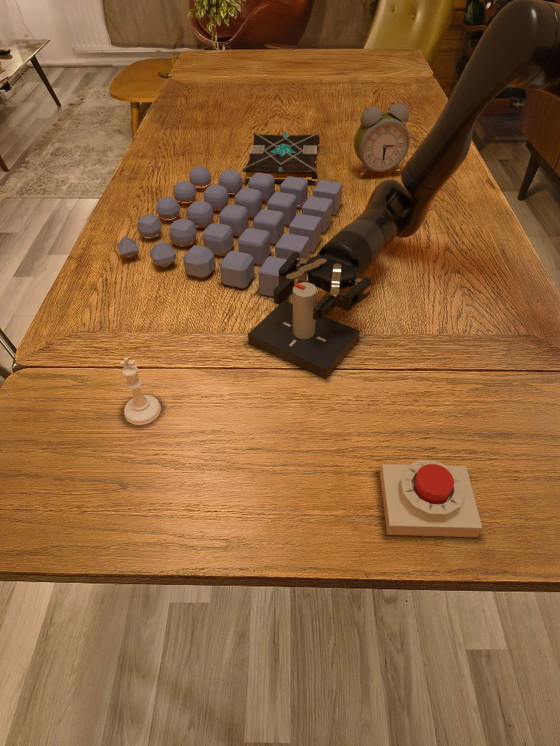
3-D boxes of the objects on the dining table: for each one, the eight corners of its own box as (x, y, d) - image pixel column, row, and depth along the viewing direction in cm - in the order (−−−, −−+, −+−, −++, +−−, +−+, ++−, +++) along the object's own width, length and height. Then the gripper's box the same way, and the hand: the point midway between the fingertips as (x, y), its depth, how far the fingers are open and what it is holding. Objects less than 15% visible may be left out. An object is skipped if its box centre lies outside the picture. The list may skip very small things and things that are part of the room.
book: (317, 186, 116) (317, 164, 113) (243, 184, 117) (241, 163, 114) (319, 147, 131) (320, 126, 128) (253, 146, 132) (252, 125, 129)
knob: (319, 329, 79) (321, 285, 73) (307, 342, 77) (308, 297, 71) (300, 321, 80) (301, 277, 74) (288, 334, 78) (288, 289, 72)
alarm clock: (357, 182, 117) (363, 112, 107) (348, 169, 122) (353, 101, 111) (405, 176, 119) (416, 107, 108) (395, 164, 124) (404, 96, 113)
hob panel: (358, 340, 80) (360, 329, 78) (326, 379, 74) (326, 368, 73) (284, 309, 86) (284, 299, 84) (248, 343, 80) (247, 333, 78)
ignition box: (462, 475, 63) (470, 456, 60) (477, 537, 57) (487, 519, 54) (379, 474, 63) (383, 455, 60) (386, 535, 57) (391, 517, 55)
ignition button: (446, 472, 59) (450, 464, 57) (453, 504, 56) (457, 495, 55) (411, 472, 59) (414, 463, 58) (416, 503, 56) (419, 494, 55)
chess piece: (129, 397, 72) (111, 345, 65) (164, 397, 72) (149, 345, 65) (120, 424, 69) (100, 372, 62) (157, 425, 69) (141, 373, 62)
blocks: (285, 300, 87) (285, 276, 84) (112, 263, 96) (105, 240, 92) (341, 204, 110) (342, 182, 106) (196, 182, 119) (193, 161, 115)
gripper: (314, 218, 82) (252, 268, 73) (397, 244, 76) (341, 303, 67) (313, 258, 88) (255, 310, 78) (390, 285, 82) (337, 345, 72)
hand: (295, 306), depth 72 cm, fingers open, 6 cm apart
